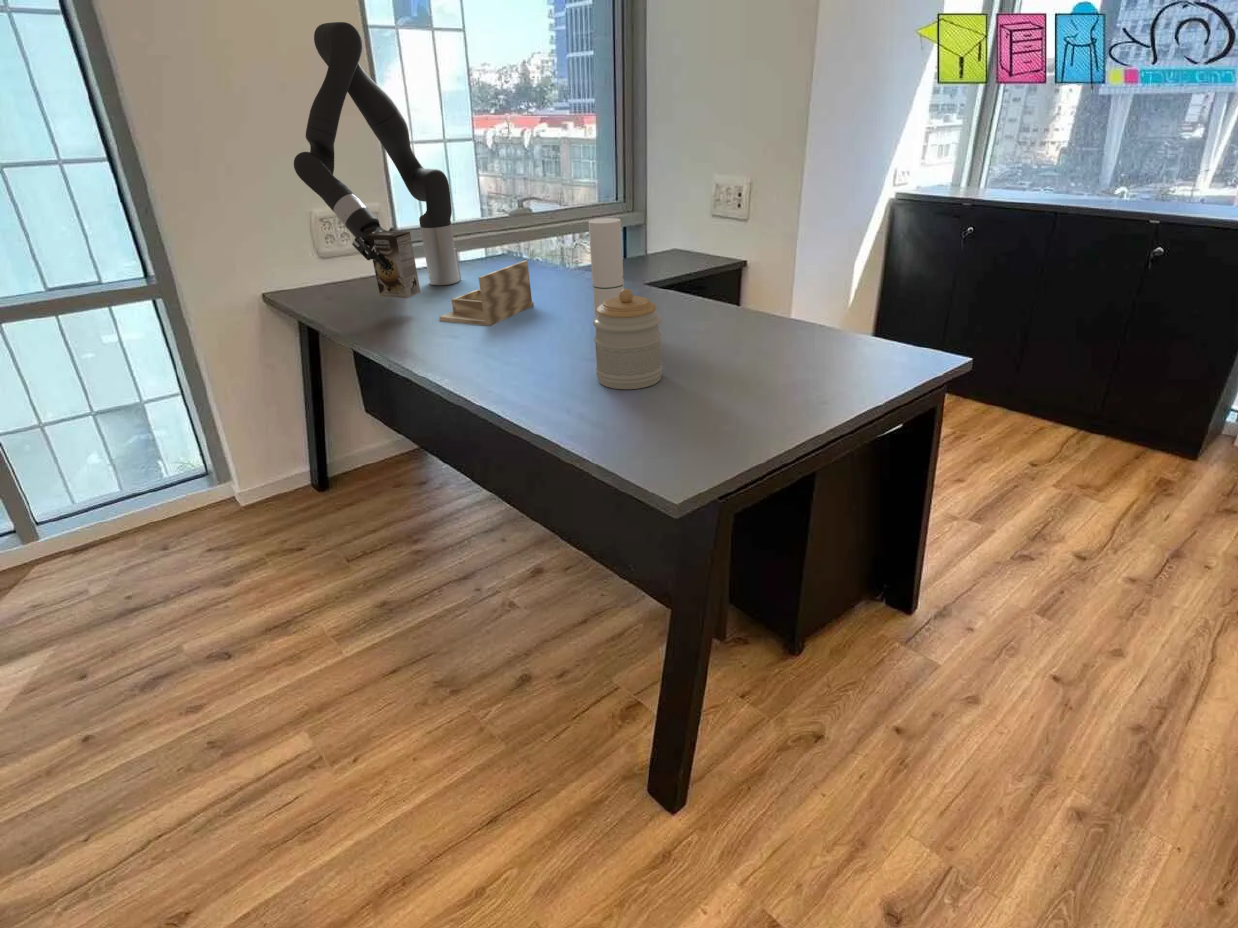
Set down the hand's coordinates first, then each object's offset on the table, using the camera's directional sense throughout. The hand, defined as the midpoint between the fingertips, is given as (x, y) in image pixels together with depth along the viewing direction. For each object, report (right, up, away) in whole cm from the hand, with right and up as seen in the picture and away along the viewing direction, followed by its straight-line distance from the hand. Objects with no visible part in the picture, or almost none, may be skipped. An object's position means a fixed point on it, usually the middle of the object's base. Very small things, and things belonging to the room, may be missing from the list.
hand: (399, 265), depth 188 cm
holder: (+23, -12, +3) cm, 26 cm away
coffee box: (-1, -7, +5) cm, 8 cm away
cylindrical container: (+55, -20, -16) cm, 61 cm away
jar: (+60, -35, -46) cm, 83 cm away
